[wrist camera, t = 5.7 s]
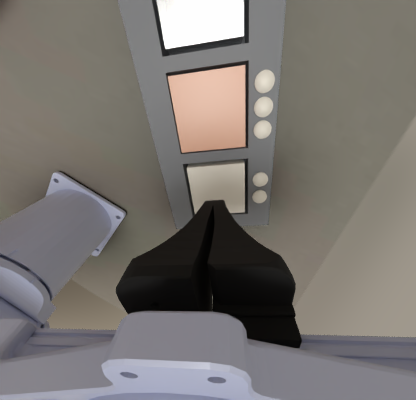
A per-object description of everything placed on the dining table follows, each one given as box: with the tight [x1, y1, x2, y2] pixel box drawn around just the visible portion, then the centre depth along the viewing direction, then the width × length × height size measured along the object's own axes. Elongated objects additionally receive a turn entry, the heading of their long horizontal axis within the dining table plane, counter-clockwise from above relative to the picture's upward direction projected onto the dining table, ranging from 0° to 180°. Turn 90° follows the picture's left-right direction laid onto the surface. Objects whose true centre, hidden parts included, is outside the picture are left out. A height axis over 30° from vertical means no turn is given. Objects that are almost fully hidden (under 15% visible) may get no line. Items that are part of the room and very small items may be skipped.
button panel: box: [118, 0, 286, 229], centre depth 13 cm, size 20×9×3 cm, turn 6°
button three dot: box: [168, 65, 246, 153], centre depth 12 cm, size 5×5×2 cm
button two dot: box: [187, 159, 245, 214], centre depth 15 cm, size 5×5×2 cm
